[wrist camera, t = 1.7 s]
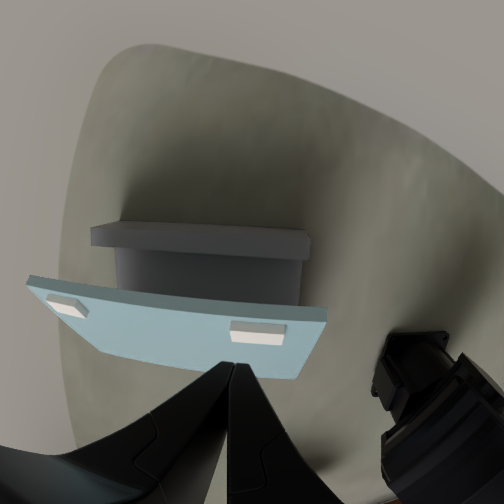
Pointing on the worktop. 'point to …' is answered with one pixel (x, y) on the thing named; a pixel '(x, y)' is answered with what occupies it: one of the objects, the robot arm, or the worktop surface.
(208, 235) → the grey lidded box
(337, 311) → the worktop surface
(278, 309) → the cover
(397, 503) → the food container
